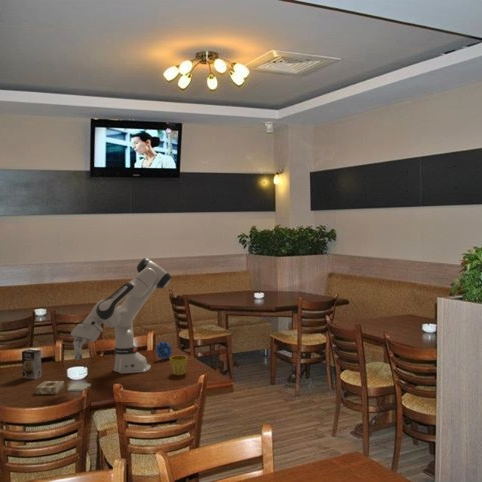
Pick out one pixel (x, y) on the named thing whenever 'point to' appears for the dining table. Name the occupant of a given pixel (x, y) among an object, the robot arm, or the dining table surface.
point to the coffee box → (31, 364)
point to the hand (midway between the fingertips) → (76, 345)
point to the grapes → (163, 350)
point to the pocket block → (50, 387)
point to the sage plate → (78, 387)
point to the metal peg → (77, 350)
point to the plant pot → (178, 364)
